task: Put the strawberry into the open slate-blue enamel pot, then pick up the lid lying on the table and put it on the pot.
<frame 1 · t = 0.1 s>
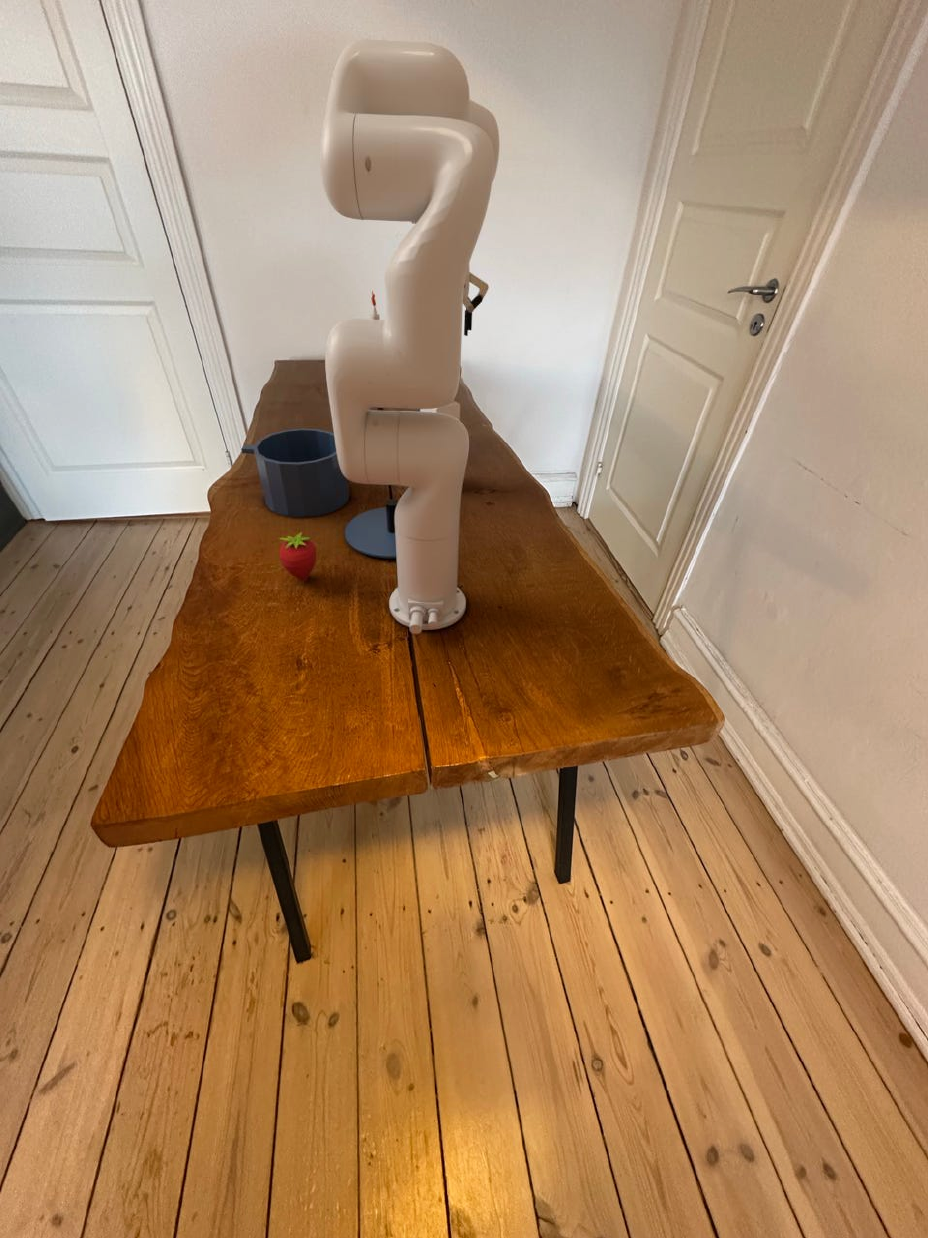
hand: (440, 332, 105), 31 cm above the table, tool pointing down, fingers open, 9 cm apart
strawberry: (303, 581, 95), on the table
milk: (439, 487, 124), on the table
candlestick: (383, 450, 138), on the table
lid: (393, 531, 107), point 1 cm above the table
pot: (307, 496, 118), on the table
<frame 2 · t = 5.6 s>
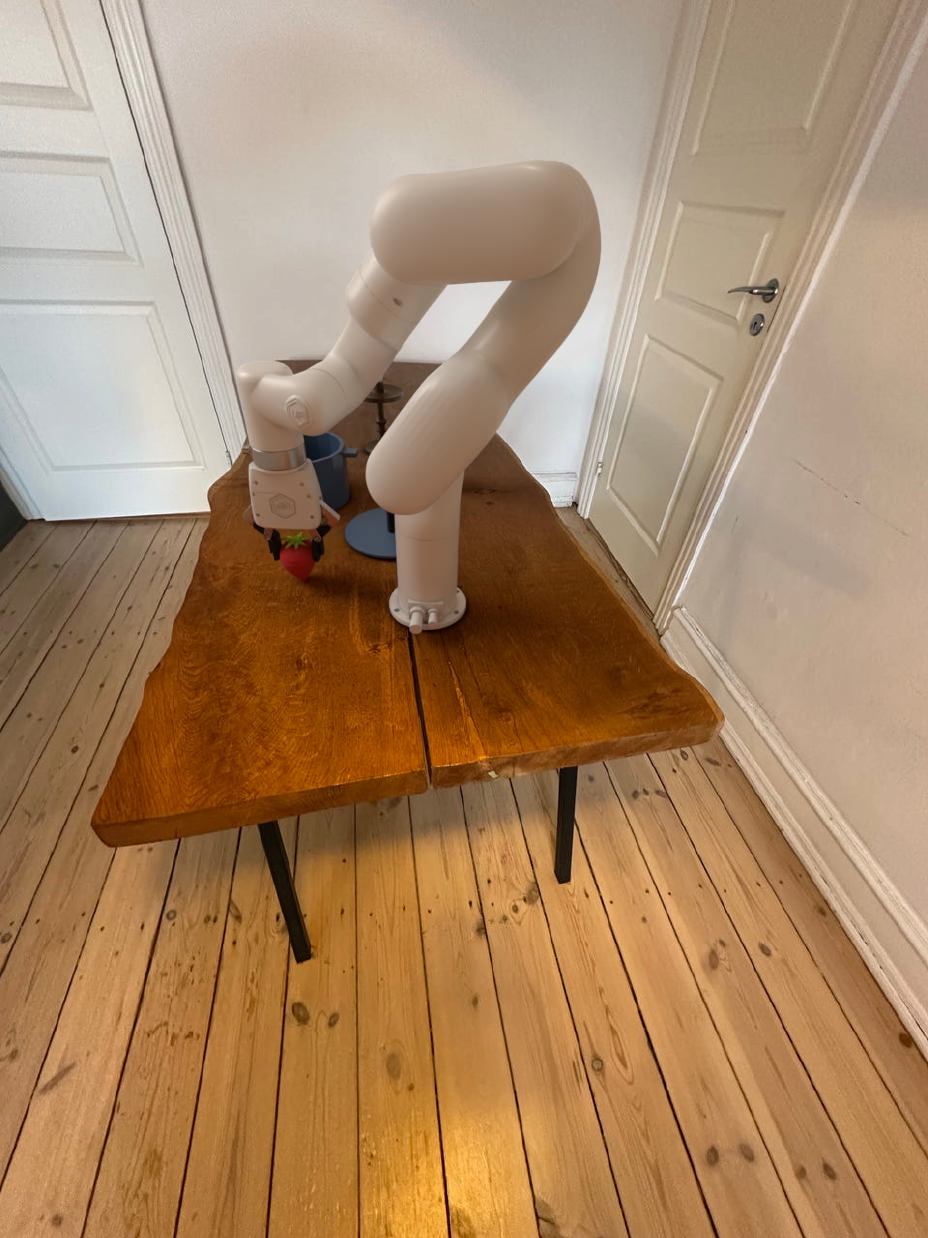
hand: (298, 556, 92), 5 cm above the table, tool pointing down, fingers closed on strawberry, 5 cm apart
strawberry: (303, 581, 95), on the table, touching gripper
everything else where it was.
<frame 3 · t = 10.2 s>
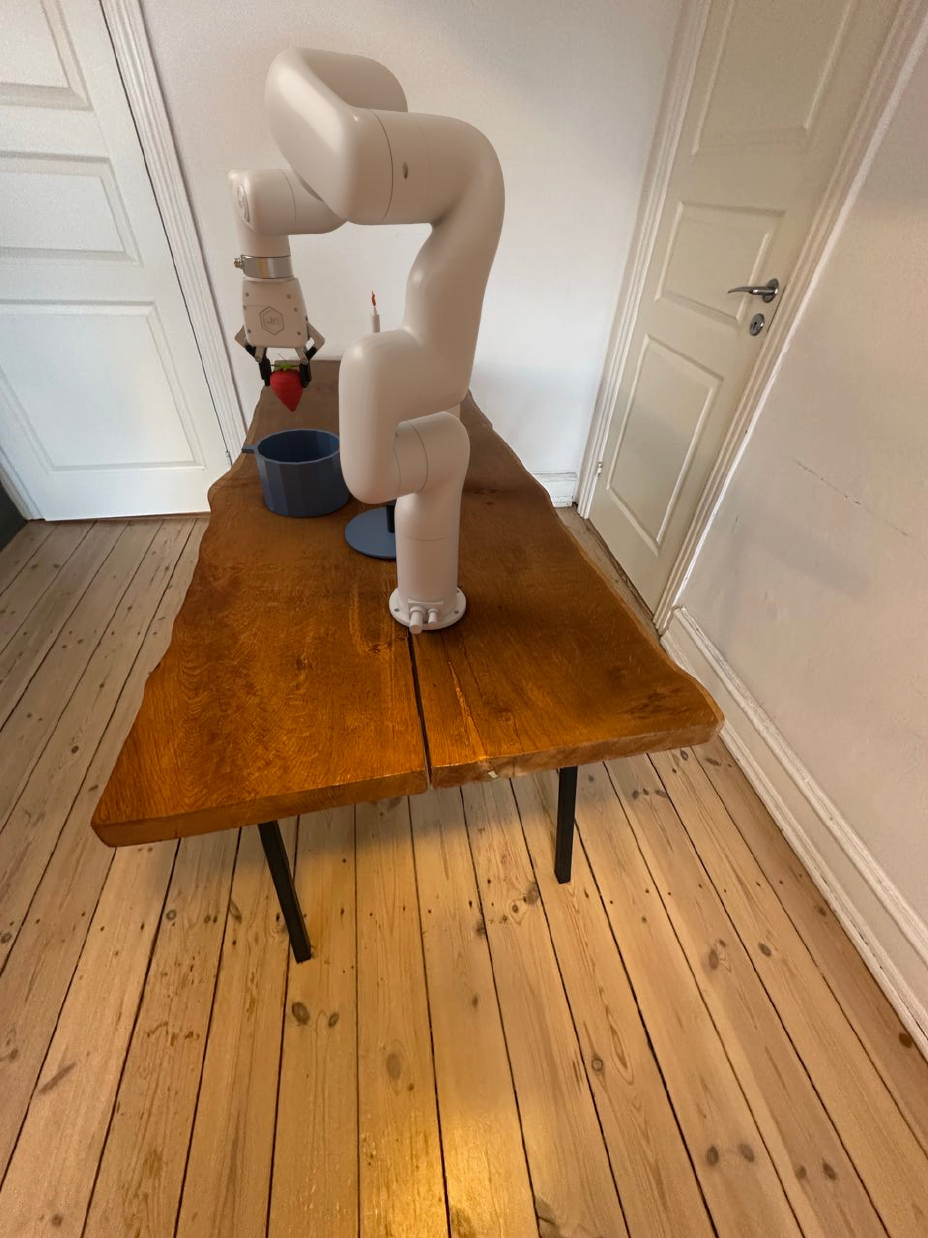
hand: (287, 383, 99), 25 cm above the table, tool pointing down, fingers closed on strawberry, 5 cm apart
strawberry: (292, 412, 103), point 19 cm above the table, touching gripper
everything else where it was.
when the fingers open (5 cm above the table, at t = 15.3 s): strawberry stays where it is, resting on pot.
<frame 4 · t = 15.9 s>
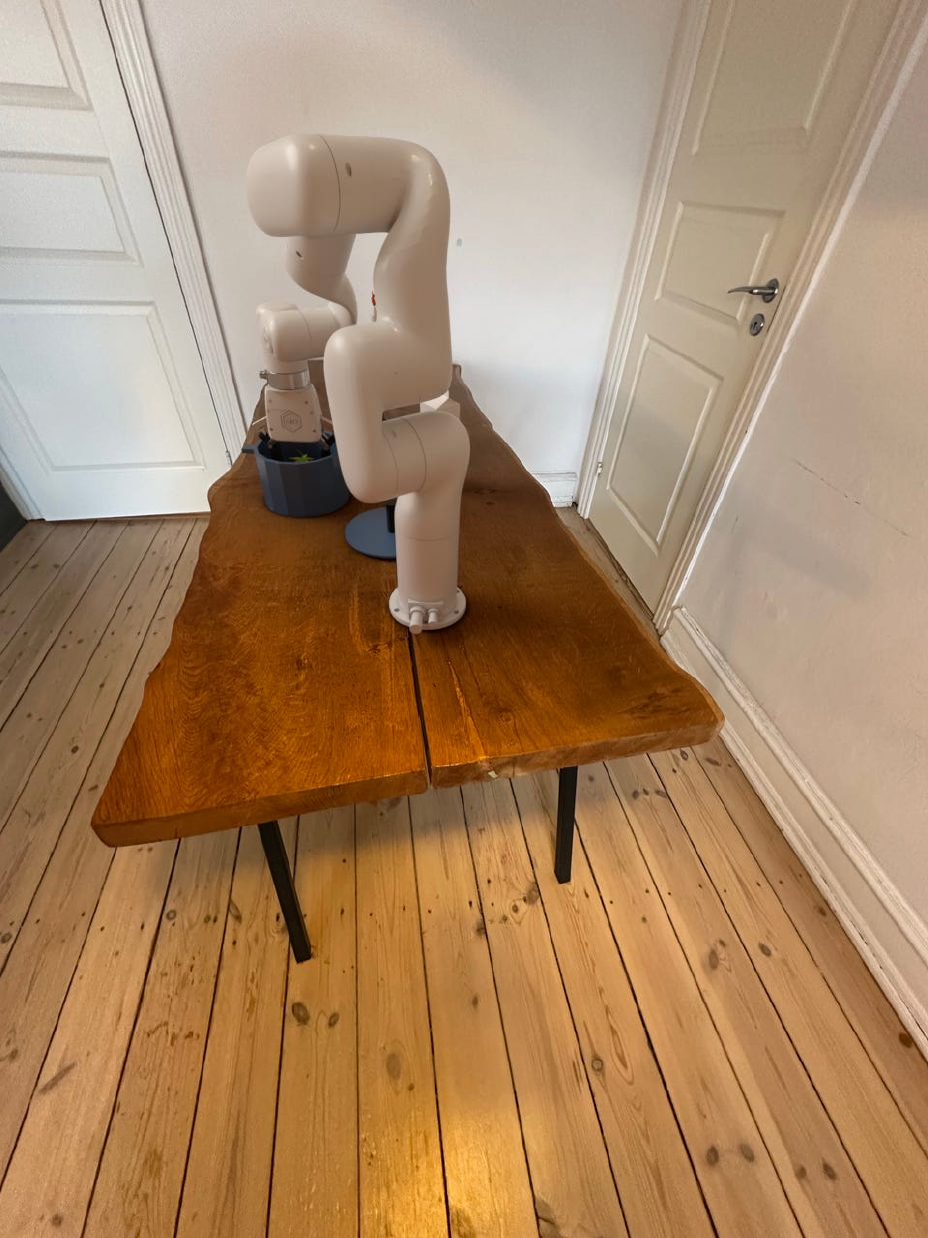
hand: (303, 465, 113), 7 cm above the table, tool pointing down, fingers open, 9 cm apart
strawberry: (307, 495, 118), resting on pot
everything else where it was.
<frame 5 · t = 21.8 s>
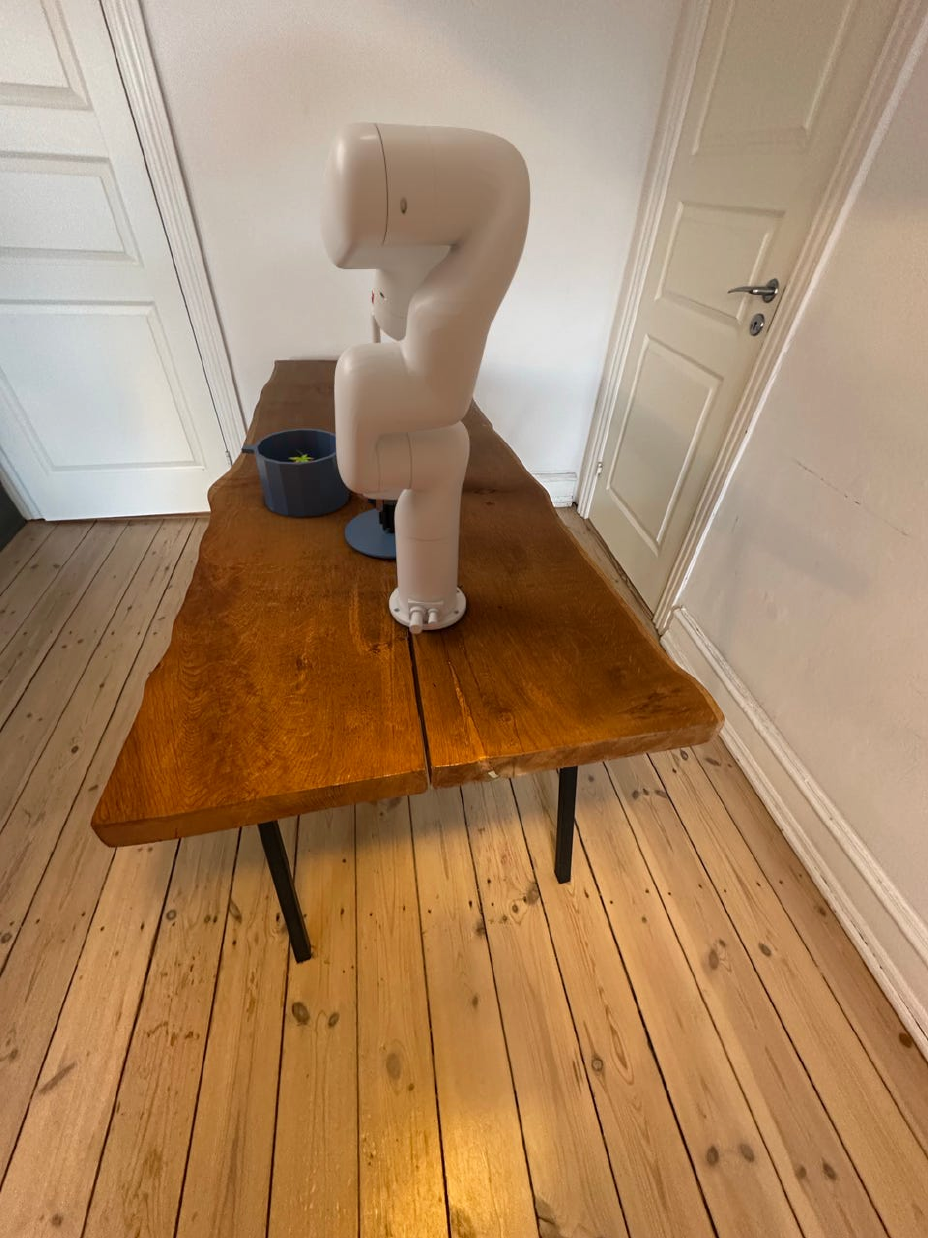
hand: (393, 526, 106), 2 cm above the table, tool pointing down, fingers closed on lid, 2 cm apart
lid: (393, 531, 107), point 1 cm above the table, touching gripper
everything else where it was.
when the fingers open (13 cm above the table, at t = 29.5 s): lid stays where it is, resting on pot.
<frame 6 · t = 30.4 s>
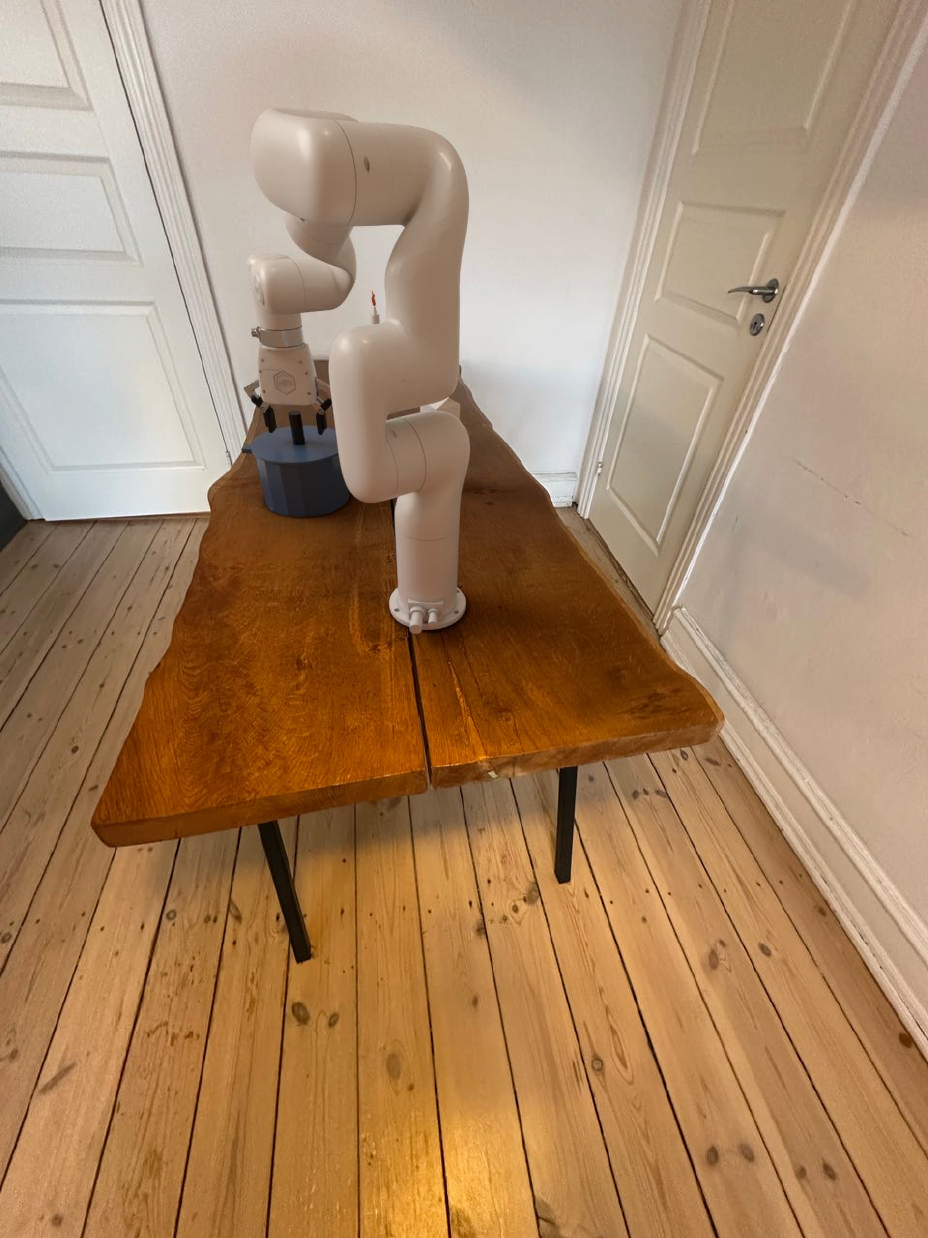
hand: (297, 431, 108), 14 cm above the table, tool pointing down, fingers open, 9 cm apart
lid: (299, 445, 110), point 11 cm above the table, touching pot
everything else where it was.
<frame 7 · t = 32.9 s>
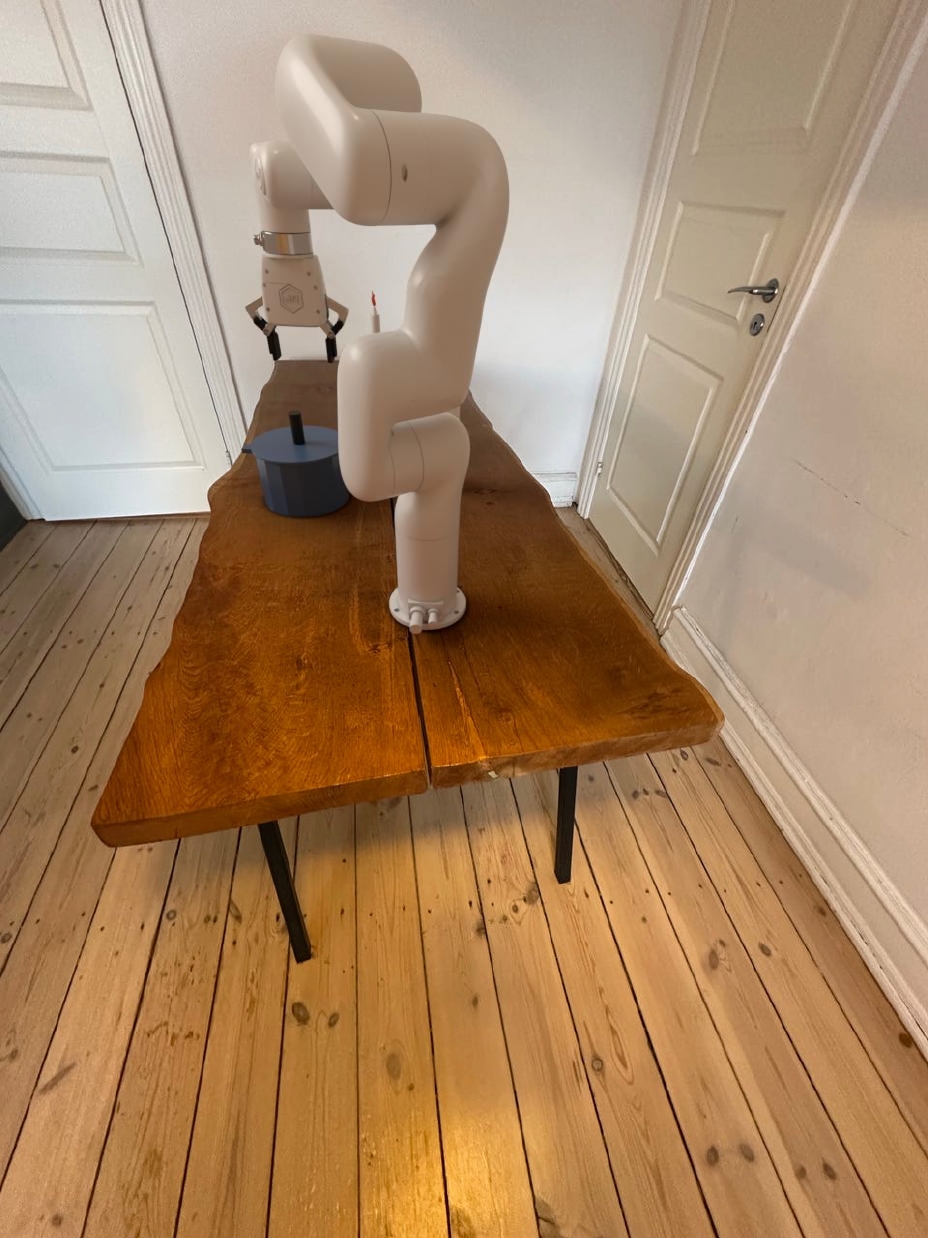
hand: (304, 359, 98), 28 cm above the table, tool pointing down, fingers open, 9 cm apart
nothing on the table moved.
at the end: strawberry inside the target area in the pot (0.1 cm from its centre), point 0.3 cm above the pot's base; lid 0.1 cm off-centre on the pot, point 11.5 cm above the pot's base; lid tilted 0° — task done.
